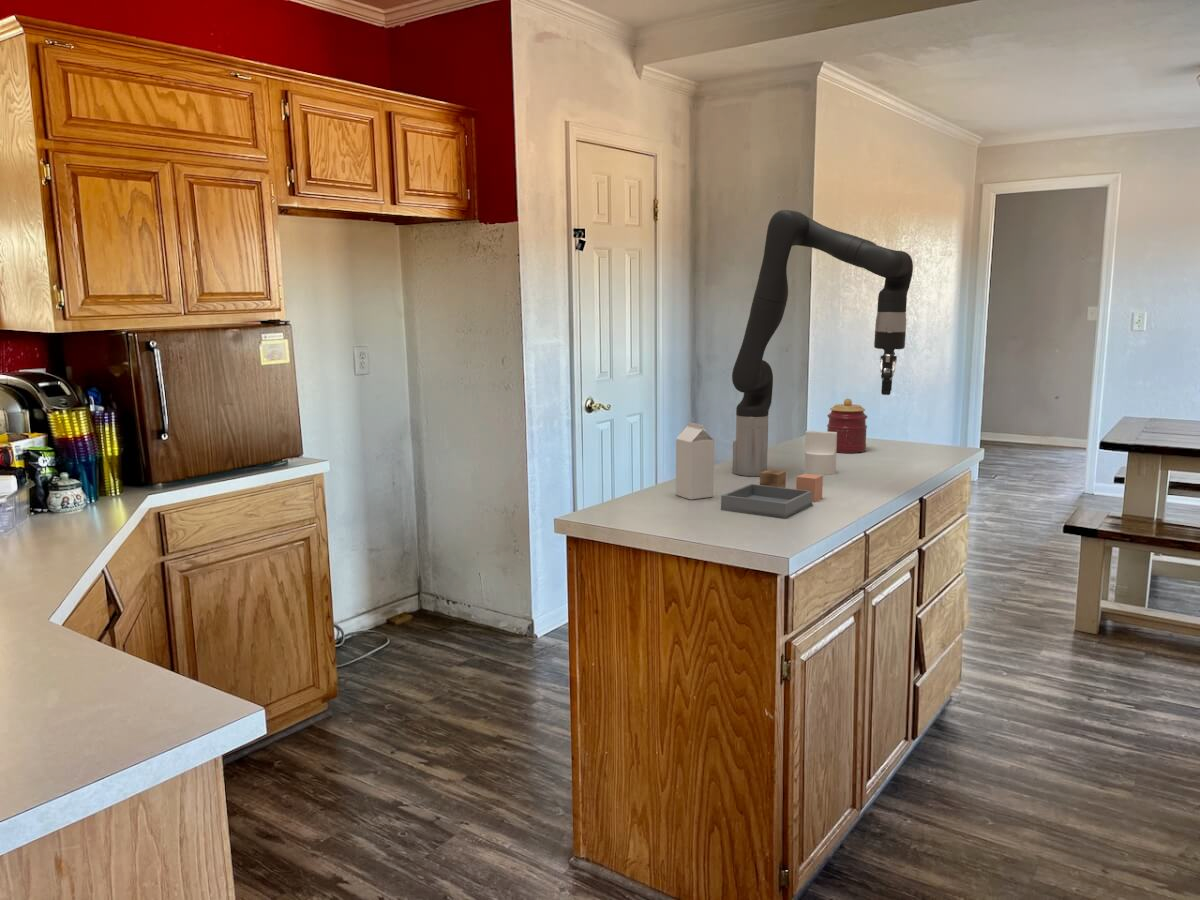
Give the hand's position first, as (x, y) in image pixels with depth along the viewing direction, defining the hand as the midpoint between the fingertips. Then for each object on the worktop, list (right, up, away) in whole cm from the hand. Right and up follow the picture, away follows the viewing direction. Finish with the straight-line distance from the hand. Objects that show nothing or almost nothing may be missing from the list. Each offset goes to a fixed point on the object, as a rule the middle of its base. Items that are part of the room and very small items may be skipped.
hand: (886, 392), depth 229 cm
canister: (+9, -15, +69) cm, 71 cm away
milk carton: (-50, -27, 0) cm, 57 cm away
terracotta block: (-21, -27, -4) cm, 35 cm away
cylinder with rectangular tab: (-10, -22, +31) cm, 39 cm away
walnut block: (-29, -27, +1) cm, 40 cm away
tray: (-33, -29, -13) cm, 46 cm away
